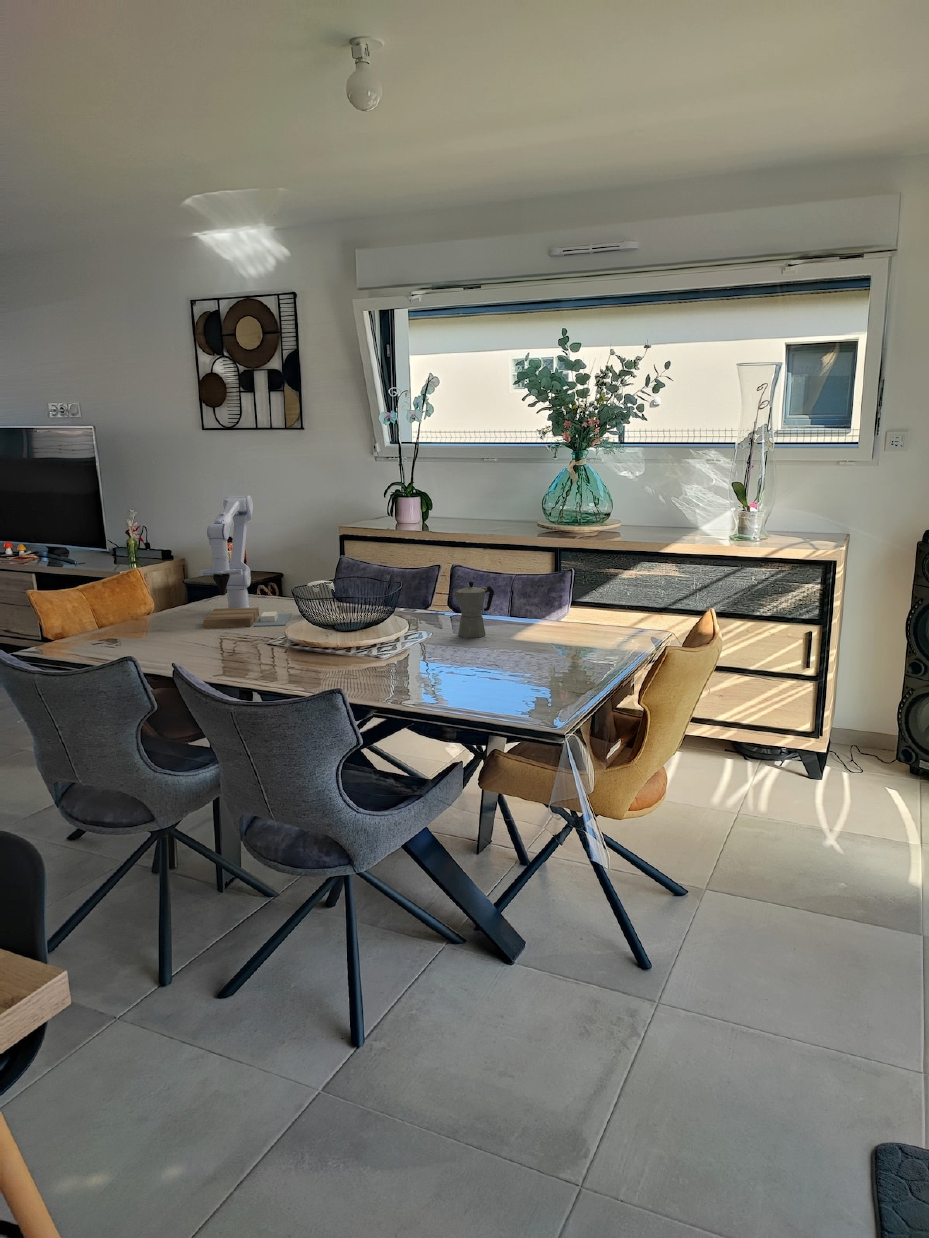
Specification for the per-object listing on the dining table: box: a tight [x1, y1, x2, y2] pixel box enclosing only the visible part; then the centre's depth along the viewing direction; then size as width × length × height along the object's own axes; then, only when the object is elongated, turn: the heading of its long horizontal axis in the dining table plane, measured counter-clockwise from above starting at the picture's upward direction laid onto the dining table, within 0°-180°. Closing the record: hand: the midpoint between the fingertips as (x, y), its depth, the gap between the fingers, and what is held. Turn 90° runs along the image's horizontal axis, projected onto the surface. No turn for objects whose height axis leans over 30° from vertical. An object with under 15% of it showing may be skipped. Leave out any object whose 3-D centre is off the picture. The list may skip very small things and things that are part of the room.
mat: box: [253, 612, 293, 627], centre depth 315 cm, size 18×11×1 cm, turn 4°
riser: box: [203, 606, 260, 629], centre depth 314 cm, size 18×16×3 cm
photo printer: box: [306, 580, 335, 592], centre depth 323 cm, size 10×4×12 cm, turn 109°
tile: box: [259, 611, 279, 622], centre depth 315 cm, size 7×5×2 cm
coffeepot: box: [453, 580, 495, 639], centre depth 288 cm, size 15×9×18 cm, turn 121°
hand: (223, 595), depth 314 cm, fingers closed
